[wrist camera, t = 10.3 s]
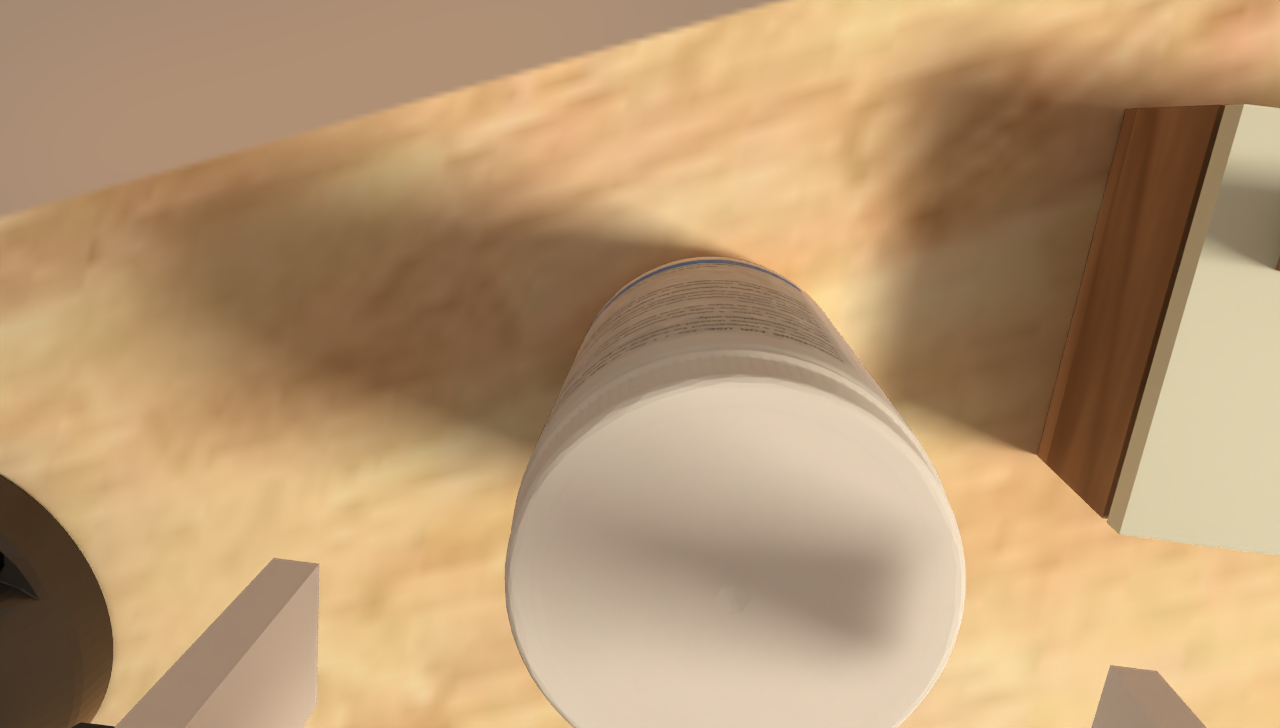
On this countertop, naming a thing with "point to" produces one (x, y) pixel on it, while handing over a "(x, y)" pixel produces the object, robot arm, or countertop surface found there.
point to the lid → (1217, 363)
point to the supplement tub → (729, 521)
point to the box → (1126, 294)
